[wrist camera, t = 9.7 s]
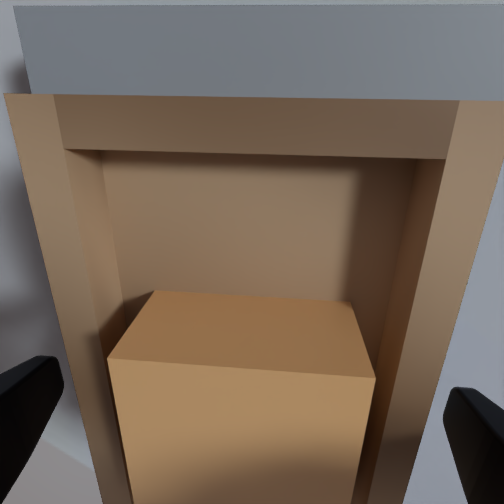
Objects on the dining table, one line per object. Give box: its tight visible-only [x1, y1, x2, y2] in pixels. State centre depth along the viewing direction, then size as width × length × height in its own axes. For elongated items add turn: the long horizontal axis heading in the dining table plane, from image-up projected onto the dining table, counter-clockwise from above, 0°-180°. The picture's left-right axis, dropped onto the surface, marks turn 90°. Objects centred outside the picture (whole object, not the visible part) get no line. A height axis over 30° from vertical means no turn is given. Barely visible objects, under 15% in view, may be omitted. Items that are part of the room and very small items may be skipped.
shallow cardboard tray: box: [3, 93, 504, 504], centre depth 9 cm, size 12×7×4 cm, turn 179°
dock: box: [13, 4, 504, 101], centre depth 12 cm, size 16×12×3 cm
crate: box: [107, 290, 376, 504], centre depth 7 cm, size 5×4×2 cm
